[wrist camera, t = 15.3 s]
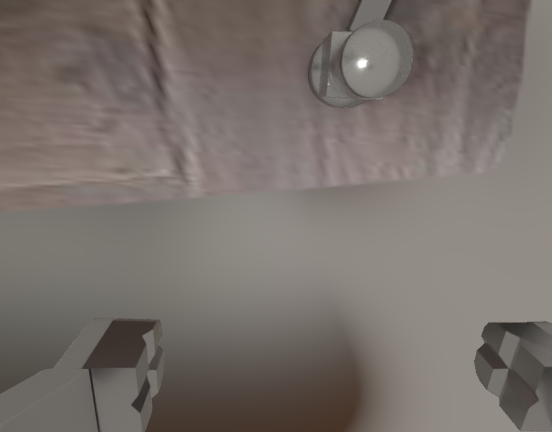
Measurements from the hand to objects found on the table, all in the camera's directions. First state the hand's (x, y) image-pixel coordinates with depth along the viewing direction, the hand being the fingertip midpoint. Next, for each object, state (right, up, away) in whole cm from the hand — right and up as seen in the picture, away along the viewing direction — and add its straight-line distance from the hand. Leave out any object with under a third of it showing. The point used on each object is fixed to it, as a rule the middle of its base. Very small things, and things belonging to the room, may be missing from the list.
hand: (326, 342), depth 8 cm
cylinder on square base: (+6, +18, +25) cm, 31 cm away
